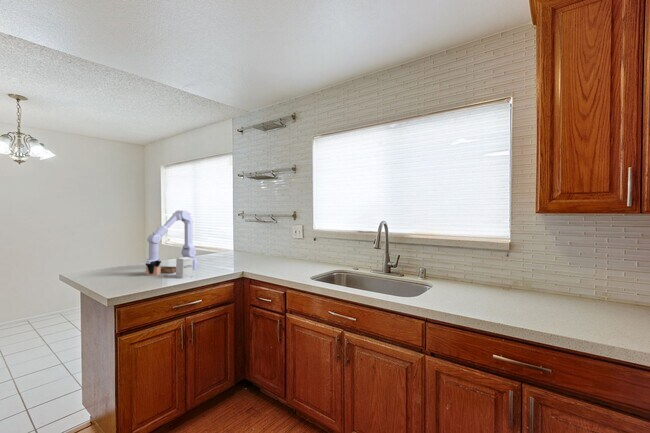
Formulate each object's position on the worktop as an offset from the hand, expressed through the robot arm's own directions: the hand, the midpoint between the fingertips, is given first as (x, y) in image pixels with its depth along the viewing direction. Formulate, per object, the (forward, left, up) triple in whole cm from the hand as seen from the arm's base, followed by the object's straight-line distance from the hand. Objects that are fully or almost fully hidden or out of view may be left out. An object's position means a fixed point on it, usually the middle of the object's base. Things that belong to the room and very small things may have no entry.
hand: (153, 272), depth 202 cm
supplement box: (-22, +5, -2) cm, 23 cm away
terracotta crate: (0, 0, -1) cm, 1 cm away
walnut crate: (-5, -8, -1) cm, 10 cm away
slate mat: (-3, -5, -1) cm, 6 cm away
